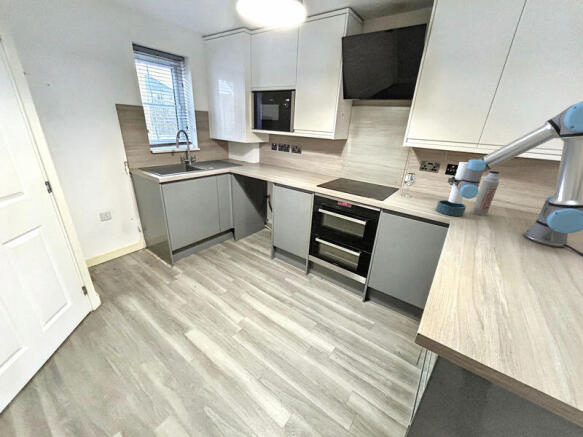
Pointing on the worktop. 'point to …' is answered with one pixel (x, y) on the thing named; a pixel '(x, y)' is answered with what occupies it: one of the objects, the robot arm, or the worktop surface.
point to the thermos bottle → (486, 194)
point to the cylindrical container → (455, 193)
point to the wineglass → (409, 181)
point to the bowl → (450, 208)
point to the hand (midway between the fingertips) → (460, 179)
